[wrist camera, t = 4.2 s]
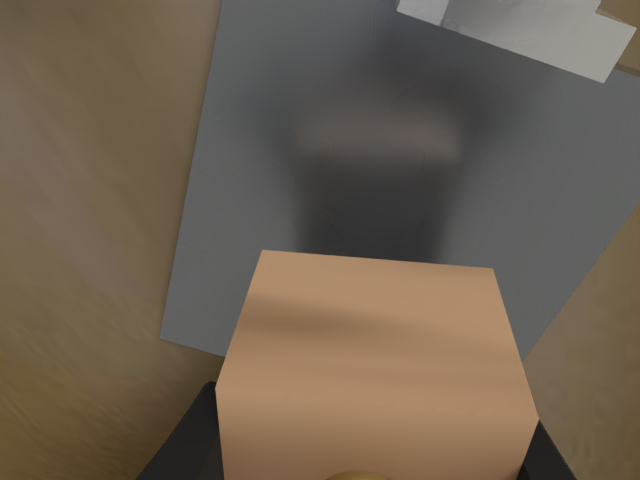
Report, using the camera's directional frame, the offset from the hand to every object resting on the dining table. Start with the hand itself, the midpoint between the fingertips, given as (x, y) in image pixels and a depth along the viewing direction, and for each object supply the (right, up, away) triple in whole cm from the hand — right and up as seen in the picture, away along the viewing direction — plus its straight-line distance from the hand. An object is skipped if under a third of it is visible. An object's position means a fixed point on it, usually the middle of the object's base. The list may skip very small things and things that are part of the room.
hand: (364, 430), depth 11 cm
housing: (0, +1, +2) cm, 3 cm away
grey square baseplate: (+1, +4, +5) cm, 7 cm away
